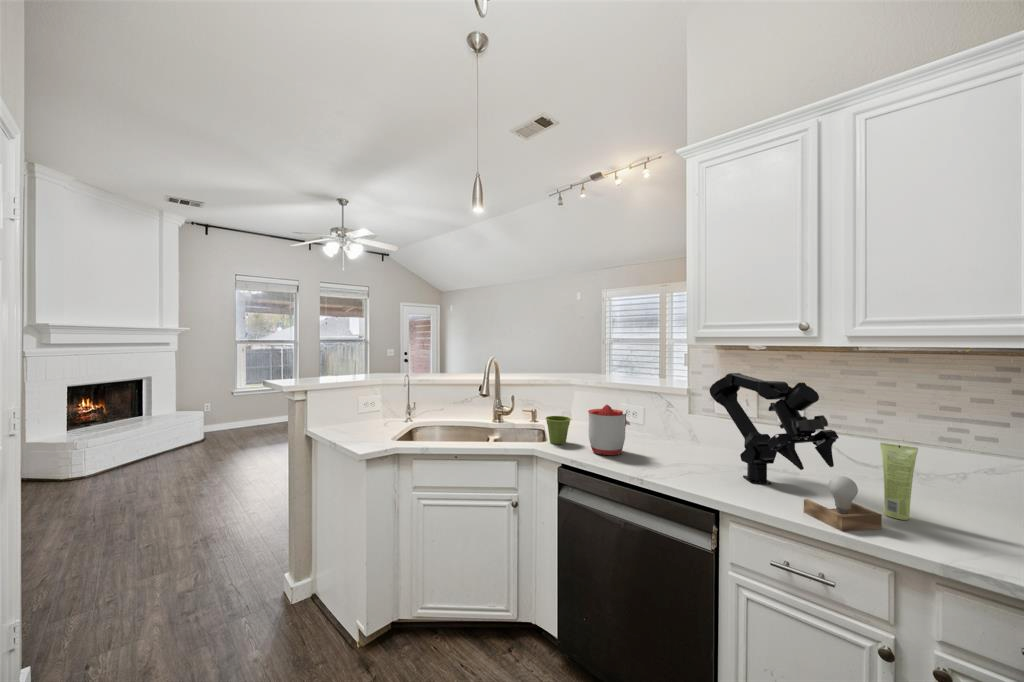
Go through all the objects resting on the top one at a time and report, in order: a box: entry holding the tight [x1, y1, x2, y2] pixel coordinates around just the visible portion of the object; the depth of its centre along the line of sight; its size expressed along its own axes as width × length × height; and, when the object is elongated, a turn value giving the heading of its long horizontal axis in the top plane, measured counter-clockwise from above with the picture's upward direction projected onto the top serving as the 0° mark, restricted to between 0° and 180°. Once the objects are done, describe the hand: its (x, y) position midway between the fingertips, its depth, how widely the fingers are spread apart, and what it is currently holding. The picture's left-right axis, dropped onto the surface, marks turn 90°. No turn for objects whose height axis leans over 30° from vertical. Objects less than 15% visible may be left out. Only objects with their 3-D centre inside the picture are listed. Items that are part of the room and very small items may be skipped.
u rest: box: [803, 498, 883, 532], centre depth 110 cm, size 11×11×4 cm
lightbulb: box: [828, 475, 859, 515], centre depth 110 cm, size 6×6×11 cm
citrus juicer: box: [587, 404, 631, 456], centre depth 175 cm, size 16×17×20 cm
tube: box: [879, 442, 919, 521], centre depth 113 cm, size 6×5×20 cm
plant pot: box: [544, 415, 572, 445], centre depth 190 cm, size 12×12×11 cm
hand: (817, 468), depth 119 cm, fingers open, 9 cm apart
